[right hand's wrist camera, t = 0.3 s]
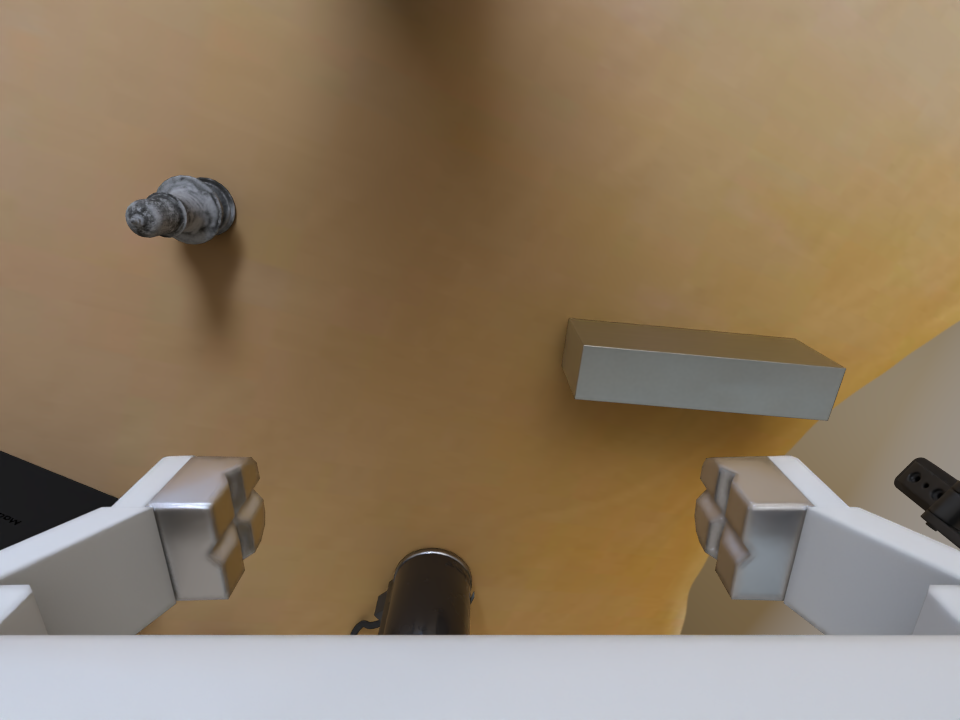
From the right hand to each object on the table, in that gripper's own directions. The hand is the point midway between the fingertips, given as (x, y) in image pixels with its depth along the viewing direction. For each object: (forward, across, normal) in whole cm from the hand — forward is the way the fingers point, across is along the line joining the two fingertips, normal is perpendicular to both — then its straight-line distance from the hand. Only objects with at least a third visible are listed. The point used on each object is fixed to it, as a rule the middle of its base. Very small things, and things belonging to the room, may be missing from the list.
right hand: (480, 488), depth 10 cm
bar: (+45, -20, +14) cm, 51 cm away
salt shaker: (+45, +26, -1) cm, 52 cm away
